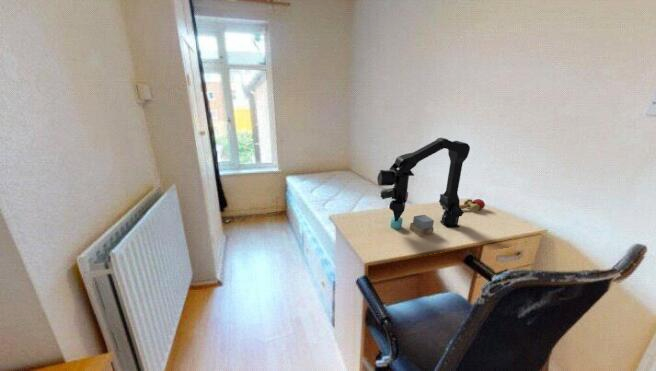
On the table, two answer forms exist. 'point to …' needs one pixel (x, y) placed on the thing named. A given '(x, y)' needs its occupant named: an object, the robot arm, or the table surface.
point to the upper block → (423, 221)
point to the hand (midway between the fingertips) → (397, 216)
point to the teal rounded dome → (396, 223)
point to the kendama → (473, 205)
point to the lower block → (421, 230)
